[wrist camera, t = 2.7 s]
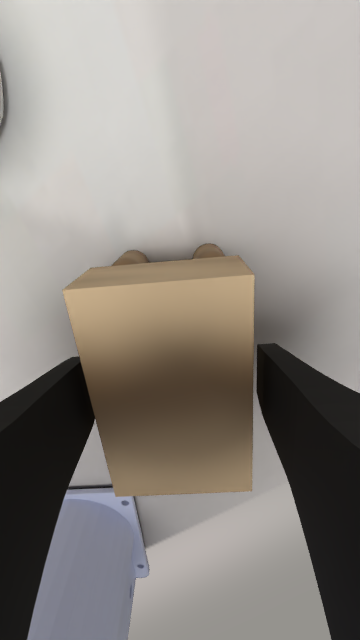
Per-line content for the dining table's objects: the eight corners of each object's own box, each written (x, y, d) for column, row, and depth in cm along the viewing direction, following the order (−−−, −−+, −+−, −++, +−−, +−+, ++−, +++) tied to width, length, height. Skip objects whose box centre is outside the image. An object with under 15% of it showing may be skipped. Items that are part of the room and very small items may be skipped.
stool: (229, 389, 16) (251, 491, 11) (139, 394, 16) (115, 496, 11) (225, 239, 13) (254, 274, 7) (113, 249, 13) (62, 290, 8)
